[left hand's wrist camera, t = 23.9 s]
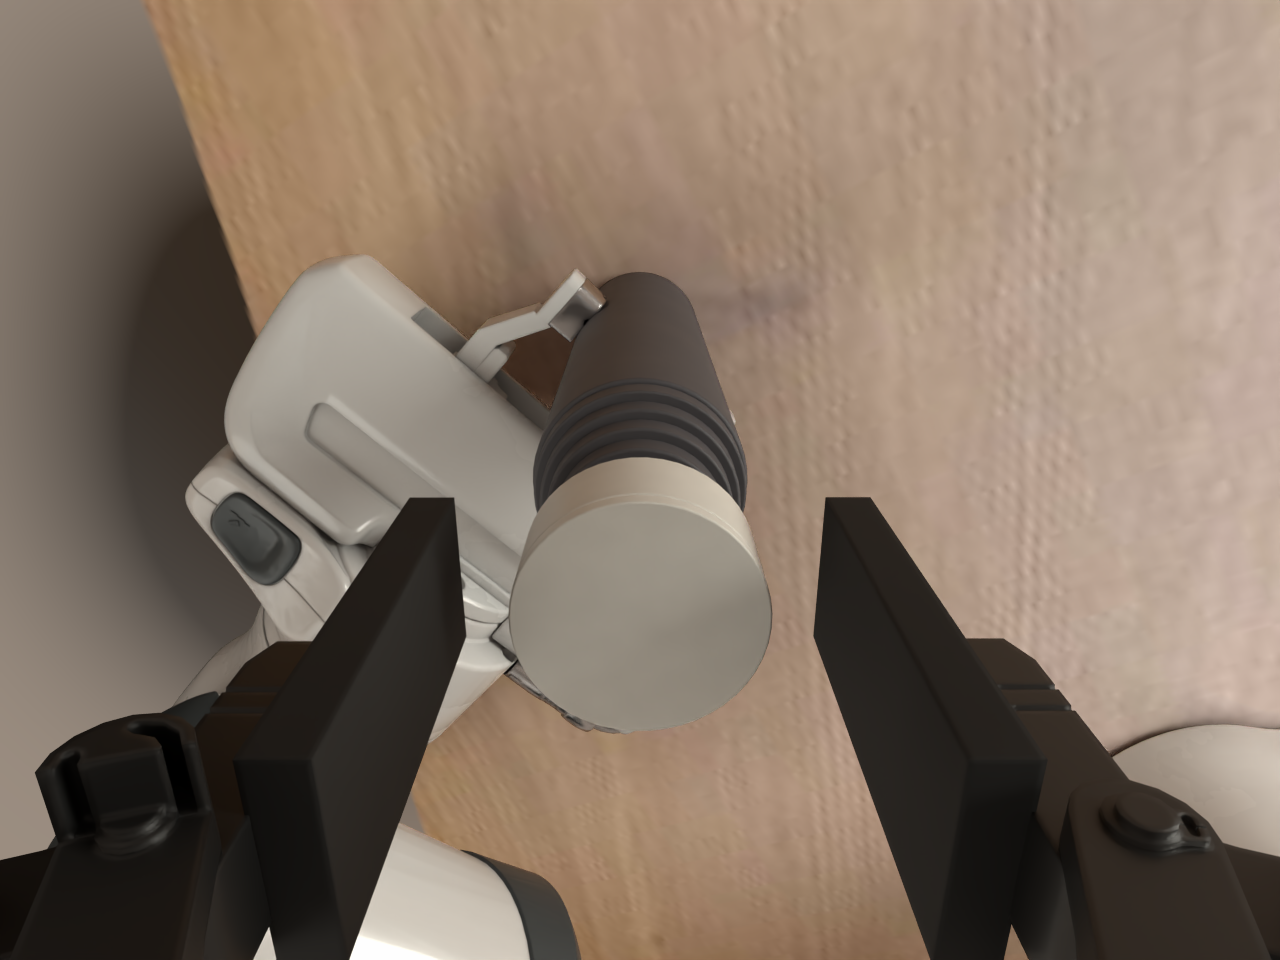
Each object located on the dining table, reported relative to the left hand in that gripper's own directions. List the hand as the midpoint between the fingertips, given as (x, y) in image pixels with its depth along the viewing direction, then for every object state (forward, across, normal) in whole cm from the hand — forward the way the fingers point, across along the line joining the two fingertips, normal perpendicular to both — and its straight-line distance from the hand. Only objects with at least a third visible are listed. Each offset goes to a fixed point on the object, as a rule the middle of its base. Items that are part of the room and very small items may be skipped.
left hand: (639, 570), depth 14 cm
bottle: (+21, 0, 0) cm, 21 cm away
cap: (-1, 0, 0) cm, 1 cm away
